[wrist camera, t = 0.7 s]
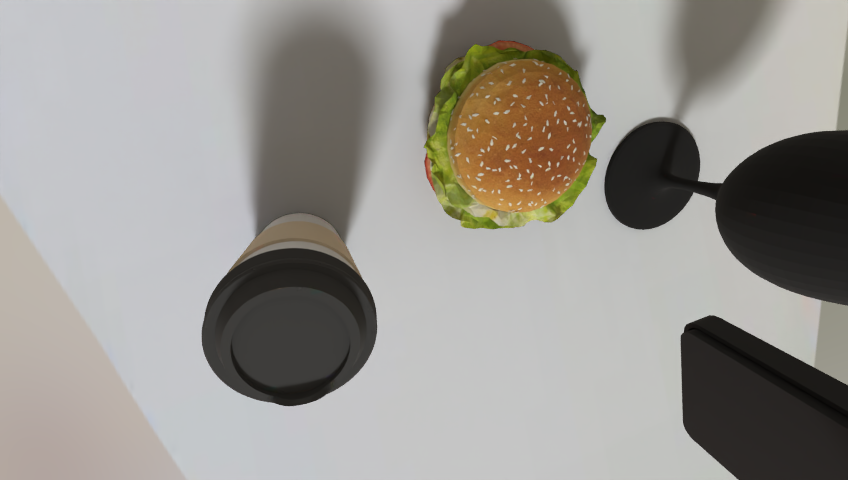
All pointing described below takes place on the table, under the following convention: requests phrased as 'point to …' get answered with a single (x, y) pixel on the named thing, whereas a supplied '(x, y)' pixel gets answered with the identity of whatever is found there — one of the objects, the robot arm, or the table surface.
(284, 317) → the coffee cup
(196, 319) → the table surface
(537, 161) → the food
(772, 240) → the wine glass
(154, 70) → the table surface
